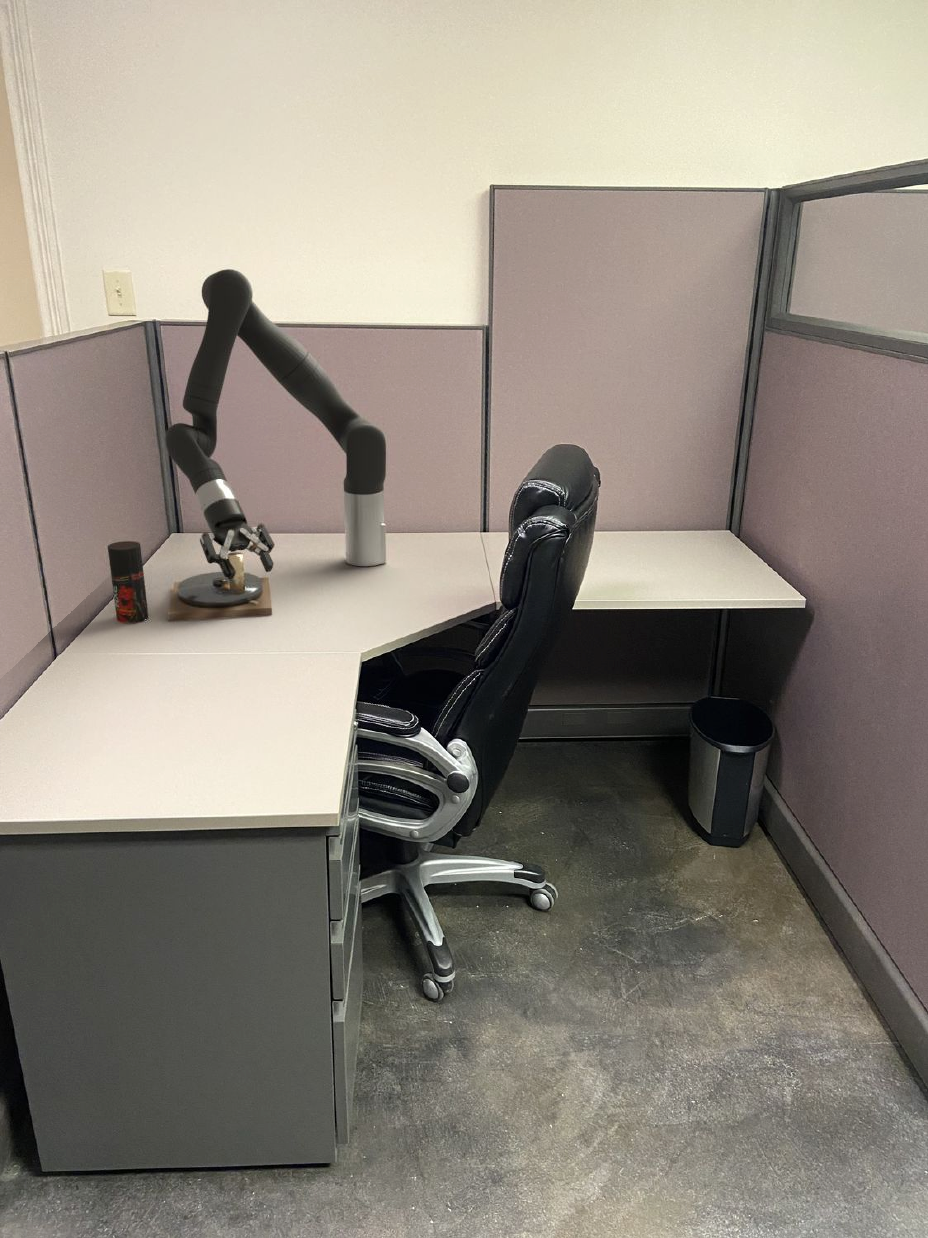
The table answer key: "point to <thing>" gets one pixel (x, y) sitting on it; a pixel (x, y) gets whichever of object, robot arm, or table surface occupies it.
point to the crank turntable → (221, 587)
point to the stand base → (191, 612)
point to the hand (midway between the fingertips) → (251, 573)
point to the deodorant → (128, 582)
